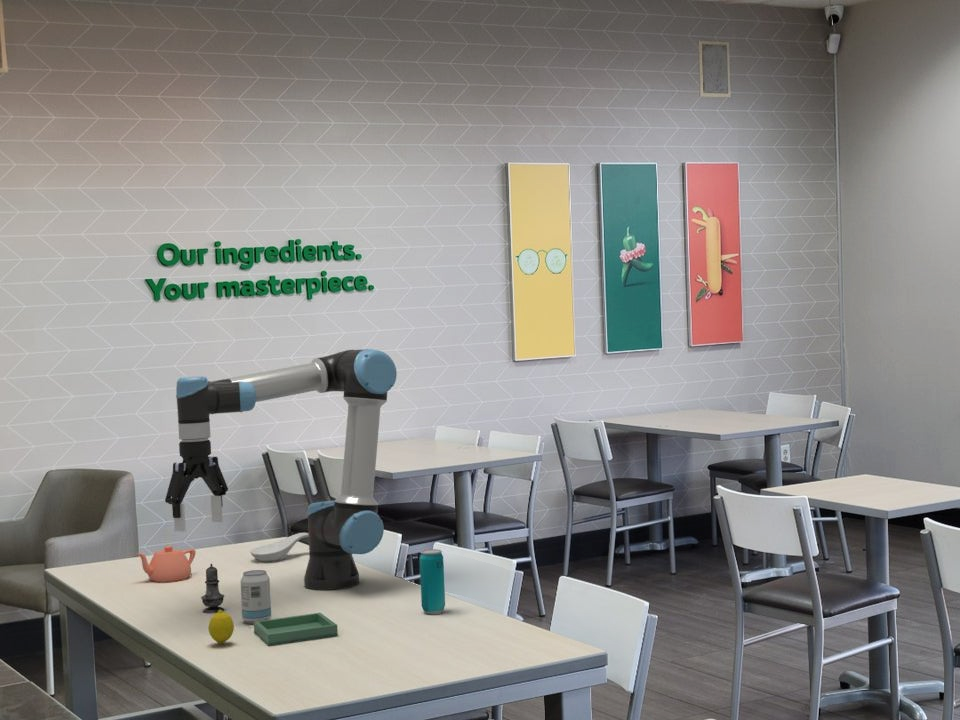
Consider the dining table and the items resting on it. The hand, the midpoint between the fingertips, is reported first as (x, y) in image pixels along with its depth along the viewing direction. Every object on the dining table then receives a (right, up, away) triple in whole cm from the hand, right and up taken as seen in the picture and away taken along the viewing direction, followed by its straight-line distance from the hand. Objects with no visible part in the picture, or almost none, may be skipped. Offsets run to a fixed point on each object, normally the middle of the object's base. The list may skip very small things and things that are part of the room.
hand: (199, 526), depth 290 cm
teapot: (-22, -23, +53) cm, 61 cm away
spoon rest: (+9, -21, +79) cm, 82 cm away
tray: (+26, -22, -17) cm, 39 cm away
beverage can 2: (+57, -21, -1) cm, 61 cm away
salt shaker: (+1, -23, +10) cm, 25 cm away
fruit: (+11, -23, -24) cm, 35 cm away
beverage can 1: (+15, -23, -4) cm, 27 cm away
